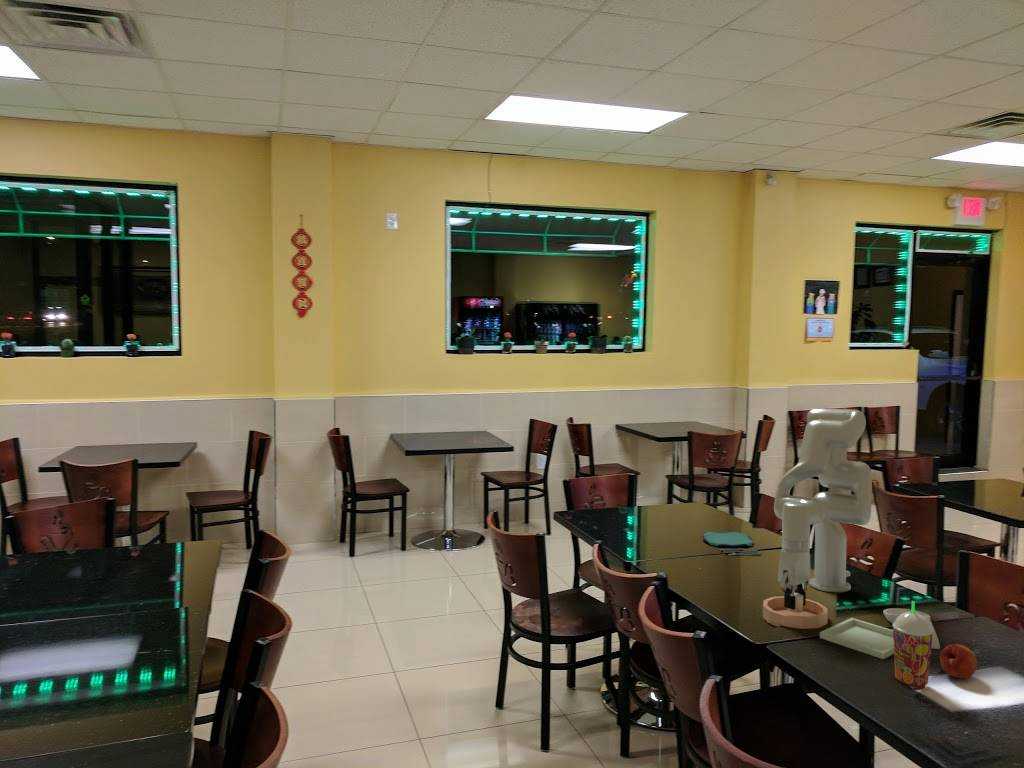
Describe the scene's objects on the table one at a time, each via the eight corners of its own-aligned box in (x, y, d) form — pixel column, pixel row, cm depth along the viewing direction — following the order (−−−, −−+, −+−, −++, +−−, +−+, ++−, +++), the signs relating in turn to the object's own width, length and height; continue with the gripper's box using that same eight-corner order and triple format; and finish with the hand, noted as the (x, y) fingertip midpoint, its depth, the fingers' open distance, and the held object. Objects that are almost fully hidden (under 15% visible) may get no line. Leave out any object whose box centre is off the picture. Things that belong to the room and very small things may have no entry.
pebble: (792, 606, 212) (792, 591, 211) (806, 610, 208) (806, 595, 208) (783, 609, 209) (783, 594, 209) (797, 613, 205) (797, 598, 205)
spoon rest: (877, 618, 211) (877, 594, 210) (920, 620, 209) (920, 596, 208) (907, 651, 187) (908, 624, 187) (956, 654, 185) (957, 627, 185)
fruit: (931, 670, 176) (931, 638, 176) (962, 668, 177) (963, 637, 176) (952, 685, 168) (953, 651, 168) (985, 683, 169) (986, 650, 168)
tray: (851, 626, 204) (851, 617, 204) (914, 645, 190) (914, 636, 190) (819, 641, 194) (819, 632, 193) (883, 663, 180) (883, 653, 180)
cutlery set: (745, 536, 302) (745, 530, 302) (766, 558, 272) (766, 552, 272) (697, 536, 303) (697, 530, 303) (713, 557, 274) (713, 552, 273)
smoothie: (883, 677, 172) (885, 595, 171) (916, 675, 173) (918, 594, 172) (905, 693, 164) (907, 608, 163) (940, 692, 165) (942, 607, 164)
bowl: (784, 605, 221) (784, 592, 221) (838, 622, 207) (839, 608, 207) (751, 618, 210) (751, 604, 210) (806, 637, 196) (806, 622, 196)
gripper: (799, 537, 216) (799, 596, 217) (767, 546, 205) (766, 609, 206) (823, 542, 210) (822, 603, 211) (791, 552, 199) (790, 616, 200)
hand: (794, 605), depth 208 cm, fingers open, 4 cm apart
